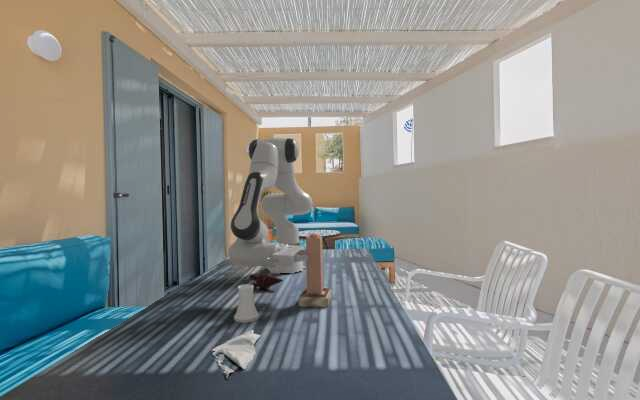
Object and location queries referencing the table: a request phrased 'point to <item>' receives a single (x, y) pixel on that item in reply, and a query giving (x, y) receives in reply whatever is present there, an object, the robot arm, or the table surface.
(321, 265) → the pillar
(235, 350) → the cloth
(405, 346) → the table surface
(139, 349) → the table surface
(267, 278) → the icecream
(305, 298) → the base
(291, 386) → the table surface
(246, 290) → the vase
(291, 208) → the robot arm
